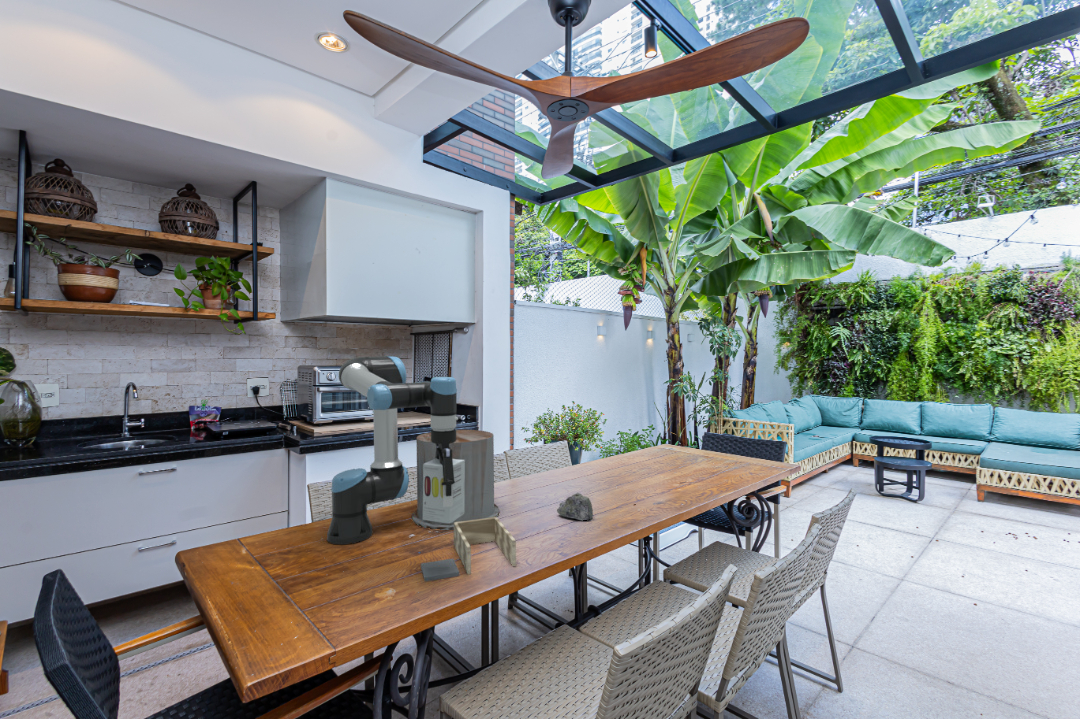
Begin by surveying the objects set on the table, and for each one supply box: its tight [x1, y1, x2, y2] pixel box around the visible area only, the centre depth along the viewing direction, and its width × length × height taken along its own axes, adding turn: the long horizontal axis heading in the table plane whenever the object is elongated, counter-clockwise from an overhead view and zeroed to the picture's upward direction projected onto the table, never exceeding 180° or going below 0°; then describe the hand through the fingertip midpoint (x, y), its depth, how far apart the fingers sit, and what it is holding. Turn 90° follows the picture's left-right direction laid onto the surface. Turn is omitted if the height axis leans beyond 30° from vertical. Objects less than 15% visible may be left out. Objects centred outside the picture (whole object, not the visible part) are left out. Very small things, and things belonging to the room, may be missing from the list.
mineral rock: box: [556, 492, 594, 521], centre depth 192 cm, size 13×11×10 cm
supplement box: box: [423, 458, 465, 524], centre depth 145 cm, size 10×9×17 cm
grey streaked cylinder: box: [411, 429, 500, 530], centre depth 196 cm, size 35×35×32 cm
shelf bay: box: [453, 517, 517, 575], centre depth 157 cm, size 23×15×8 cm, turn 20°
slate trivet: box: [420, 558, 460, 583], centre depth 146 cm, size 10×10×1 cm
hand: (443, 499), depth 145 cm, fingers closed on supplement box, 13 cm apart
